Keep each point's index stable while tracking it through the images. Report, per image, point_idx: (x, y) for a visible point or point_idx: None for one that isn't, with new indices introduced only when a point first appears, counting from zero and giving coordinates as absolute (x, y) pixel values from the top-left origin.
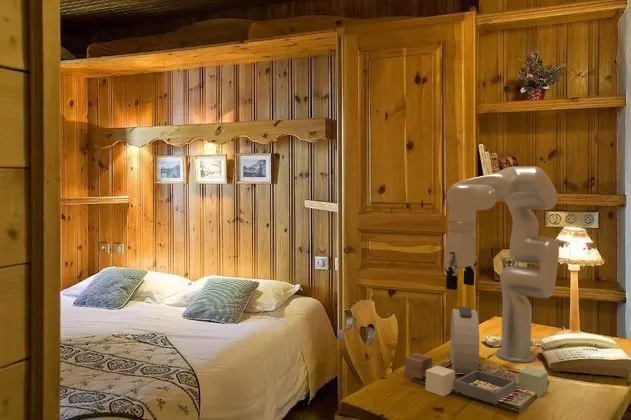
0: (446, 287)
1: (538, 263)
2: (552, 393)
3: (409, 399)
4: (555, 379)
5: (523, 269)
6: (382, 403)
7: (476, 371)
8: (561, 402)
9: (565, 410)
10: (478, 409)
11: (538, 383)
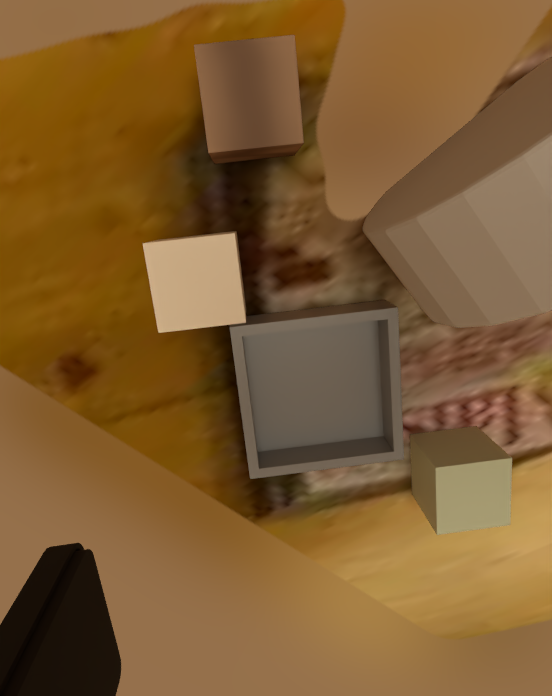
0: (45, 555)
1: None
2: None
3: (46, 260)
4: None
5: None
6: None
7: (381, 318)
8: (426, 545)
9: (381, 575)
10: (184, 442)
11: (428, 517)
